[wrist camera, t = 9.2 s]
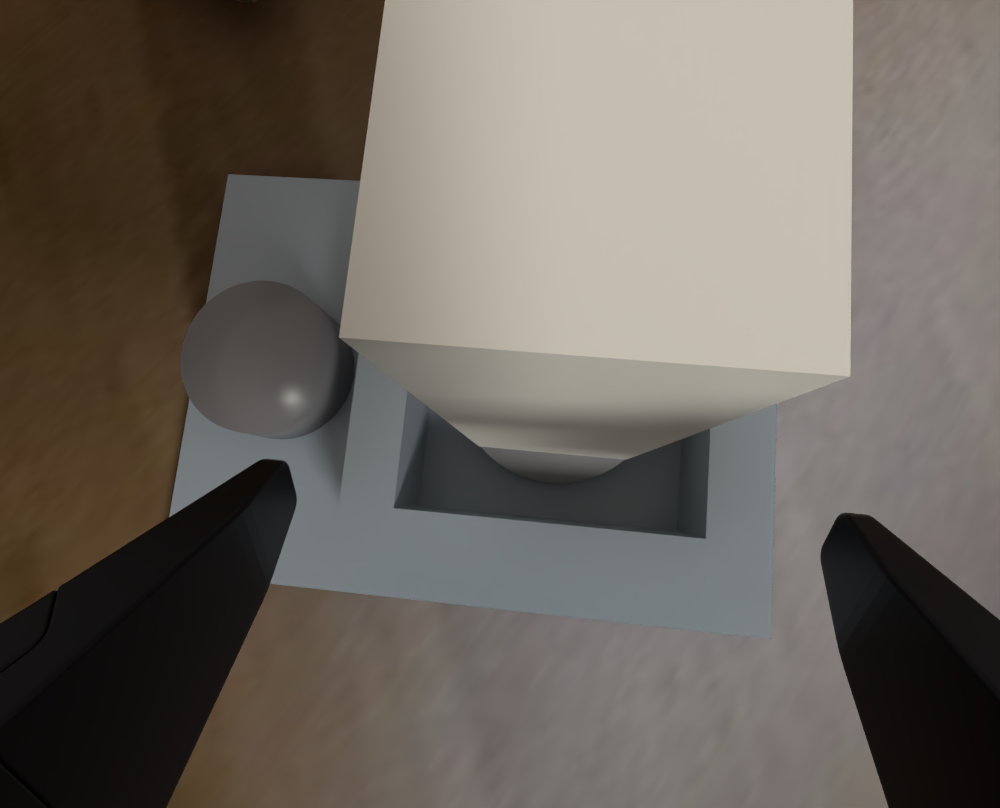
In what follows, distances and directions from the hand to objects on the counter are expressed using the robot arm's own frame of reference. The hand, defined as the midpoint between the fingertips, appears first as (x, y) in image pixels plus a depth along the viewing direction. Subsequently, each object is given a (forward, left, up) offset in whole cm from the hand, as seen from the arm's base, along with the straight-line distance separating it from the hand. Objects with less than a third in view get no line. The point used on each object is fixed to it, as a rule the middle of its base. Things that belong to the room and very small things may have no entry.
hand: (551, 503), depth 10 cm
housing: (0, +4, -9) cm, 10 cm away
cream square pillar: (+2, +3, -8) cm, 8 cm away
